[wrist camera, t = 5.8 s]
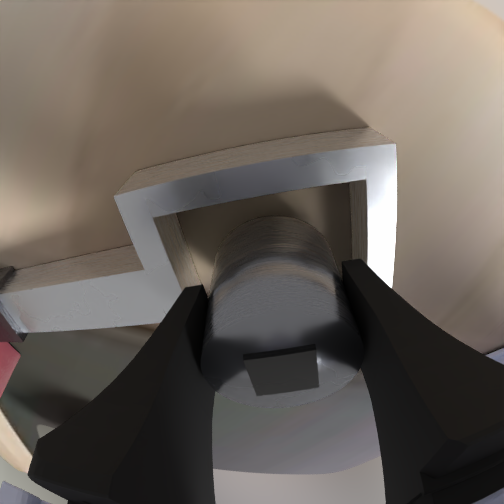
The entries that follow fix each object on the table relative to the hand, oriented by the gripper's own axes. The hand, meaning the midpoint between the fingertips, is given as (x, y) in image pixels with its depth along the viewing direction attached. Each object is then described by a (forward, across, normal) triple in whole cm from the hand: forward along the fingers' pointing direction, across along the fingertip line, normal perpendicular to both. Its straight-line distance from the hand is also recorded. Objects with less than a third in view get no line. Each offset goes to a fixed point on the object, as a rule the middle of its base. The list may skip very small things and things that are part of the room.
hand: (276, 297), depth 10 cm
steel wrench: (+3, +6, 0) cm, 7 cm away
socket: (+2, 0, 0) cm, 2 cm away
